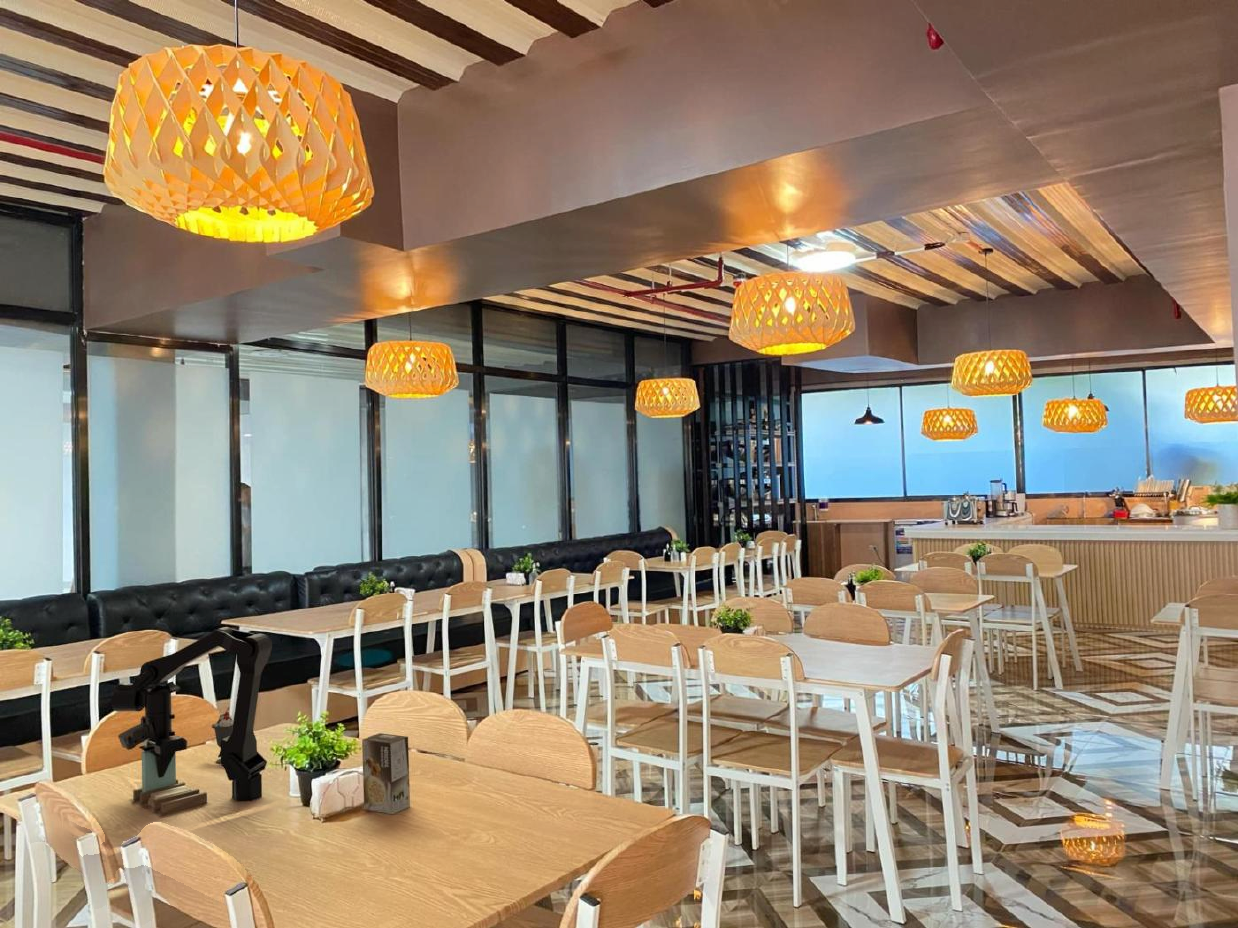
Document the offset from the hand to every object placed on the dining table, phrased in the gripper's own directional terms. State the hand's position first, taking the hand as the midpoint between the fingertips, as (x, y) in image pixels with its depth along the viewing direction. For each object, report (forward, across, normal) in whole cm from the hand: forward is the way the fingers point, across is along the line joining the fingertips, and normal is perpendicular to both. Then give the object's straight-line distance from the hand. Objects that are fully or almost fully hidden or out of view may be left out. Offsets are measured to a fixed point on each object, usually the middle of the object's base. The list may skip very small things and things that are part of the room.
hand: (159, 776), depth 216 cm
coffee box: (+6, +50, +31) cm, 59 cm away
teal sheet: (+4, 0, 0) cm, 4 cm away
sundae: (+6, -20, +26) cm, 33 cm away
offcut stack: (+5, +6, 0) cm, 8 cm away
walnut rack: (+6, +6, 0) cm, 9 cm away
